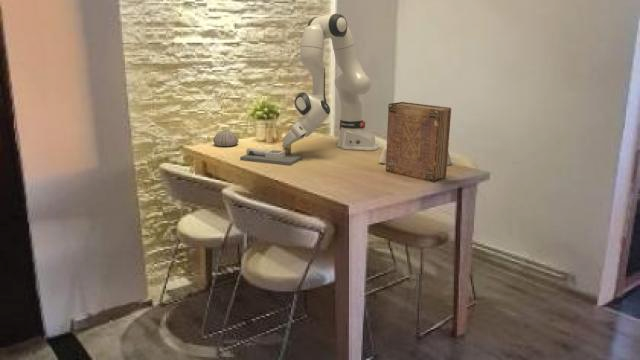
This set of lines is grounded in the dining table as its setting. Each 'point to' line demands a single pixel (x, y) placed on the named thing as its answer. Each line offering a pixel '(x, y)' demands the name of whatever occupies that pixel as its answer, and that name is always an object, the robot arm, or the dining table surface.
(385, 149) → the faucet
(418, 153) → the book
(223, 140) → the sea urchin shell
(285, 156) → the pipe board
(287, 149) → the brass valve
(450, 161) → the flask
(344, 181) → the dining table surface
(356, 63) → the robot arm
